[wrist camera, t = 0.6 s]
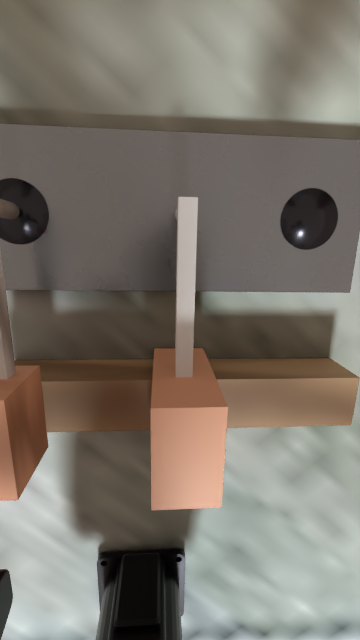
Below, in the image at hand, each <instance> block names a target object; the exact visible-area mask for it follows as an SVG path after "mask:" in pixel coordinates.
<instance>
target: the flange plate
mask: <svg viewBox="0 0 360 640" xmlns="http://www.w3.org/2000/svg"><path fill="white" fill-rule="evenodd" d="M178 197H198V214H197V246H196V279H195V291H224V292H343V293H350V289H351V282H352V276H353V270H354V264H355V257H356V251H357V245H358V239H359V232H360V140H352V139H329V138H307V137H285V136H263V135H241V134H219V133H197V132H175V131H153V130H131V129H108V128H86V127H64V126H42V125H20V124H0V199H2V200H6V201H9V202H12V203H14V204H15V205H16V206H17V207H18V209H19V215H18V217H17V218H15V219H7V218H2V217H0V251H1V259H2V267H3V275H4V283H5V290H106V291H176V264H177V220H176V218H175V212H176V210H177V200H178Z"/></svg>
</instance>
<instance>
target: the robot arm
mask: <svg viewBox="0 0 360 640" xmlns="http://www.w3.org/2000/svg"><path fill="white" fill-rule="evenodd" d="M97 572H98V587H99V602H100V617H99V623H98V629H97V635H96V640H182V628H181V616H182V615H183V613H184V584H185V553H184V551H183V550H181V549H168V550H148V551H128V552H109V553H102V554H100V555H99V556H98V561H97ZM12 599H13V593H12V587H11V580H10V574H9V571H8V570H7V569H0V640H1V637H2V634H3V631H4V628H5V624H6V621H7V618H8V615H9V612H10V608H11V604H12Z"/></svg>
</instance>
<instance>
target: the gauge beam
mask: <svg viewBox="0 0 360 640" xmlns="http://www.w3.org/2000/svg"><path fill="white" fill-rule="evenodd" d="M18 215H19V209H18V207H17V206H16V205H15V204H14V203H12V202H9V201H6V200H2V199H0V217H2V218H7V219H15V218H17V217H18ZM153 361H154V359H126V360H15V361H14V353H13V345H12V337H11V330H10V322H9V314H8V306H7V298H6V290H5V283H4V275H3V267H2V259H1V251H0V501H3V500H18V499H19V497H20V496H21V494H22V492H23V490H24V488H25V487H26V485H27V483H28V481H29V480H30V478H31V476H32V474H33V473H34V471H35V469H36V467H37V466H38V464H39V462H40V460H41V458H42V457H43V455H44V453H45V451H46V450H47V448H48V440H47V432H79V431H121V430H151V393H152V377H153ZM208 361H209V363H210V366H211V368H212V370H213V373H214V375H215V377H216V380H217V382H218V384H219V387H220V389H221V392H222V394H223V396H224V399H225V401H226V403H227V406H228V415H227V428H249V427H292V426H335V425H351V423H352V417H353V412H354V406H355V401H356V395H357V390H358V384H359V379H360V378H359V377H358V376H356V375H355V374H353V373H352V372H350V371H349V370H347V369H345V368H344V367H342V366H341V365H339V364H338V363H336V362H335V361H333V360H332V359H330V358H264V359H208Z"/></svg>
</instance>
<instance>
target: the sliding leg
mask: <svg viewBox="0 0 360 640" xmlns="http://www.w3.org/2000/svg"><path fill="white" fill-rule="evenodd" d="M197 214H198V197H178V200H177V210H176V212H175V218H176V220H177V264H176V332H175V348H154V361H153V377H152V393H151V510H174V509H198V508H222V493H223V477H224V461H225V446H226V430H227V415H228V406H227V403H226V401H225V399H224V396H223V394H222V392H221V389H220V387H219V384H218V382H217V380H216V377H215V375H214V373H213V370H212V368H211V366H210V363H209V361H208V358H207V356H206V354H205V351H204V349H203V348H193V344H194V312H195V279H196V246H197Z"/></svg>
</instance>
